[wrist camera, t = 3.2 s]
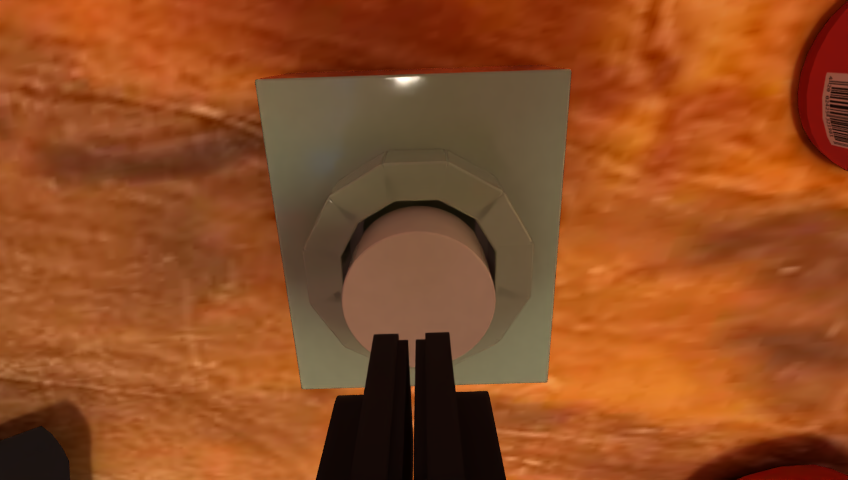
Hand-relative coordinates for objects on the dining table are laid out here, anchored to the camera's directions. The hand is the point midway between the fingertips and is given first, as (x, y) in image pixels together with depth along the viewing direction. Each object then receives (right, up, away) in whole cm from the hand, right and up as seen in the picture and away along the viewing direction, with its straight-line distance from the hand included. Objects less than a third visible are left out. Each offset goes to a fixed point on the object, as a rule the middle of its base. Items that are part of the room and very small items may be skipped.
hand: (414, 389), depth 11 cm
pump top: (0, +2, +5) cm, 6 cm away
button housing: (0, +4, +10) cm, 11 cm away
